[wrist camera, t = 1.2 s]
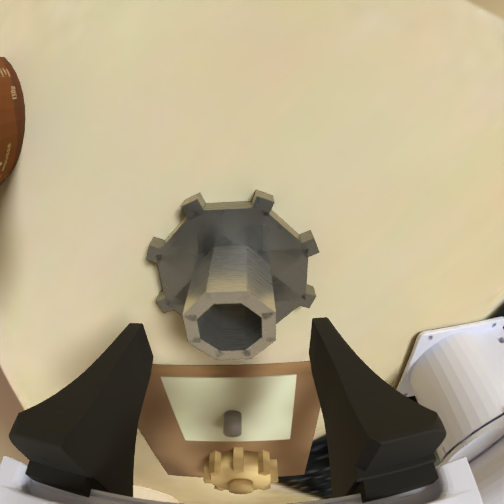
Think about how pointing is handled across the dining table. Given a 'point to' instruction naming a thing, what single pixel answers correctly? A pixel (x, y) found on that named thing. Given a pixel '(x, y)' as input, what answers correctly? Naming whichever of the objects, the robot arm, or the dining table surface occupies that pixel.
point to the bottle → (152, 494)
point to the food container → (10, 118)
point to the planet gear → (233, 274)
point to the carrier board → (231, 422)
